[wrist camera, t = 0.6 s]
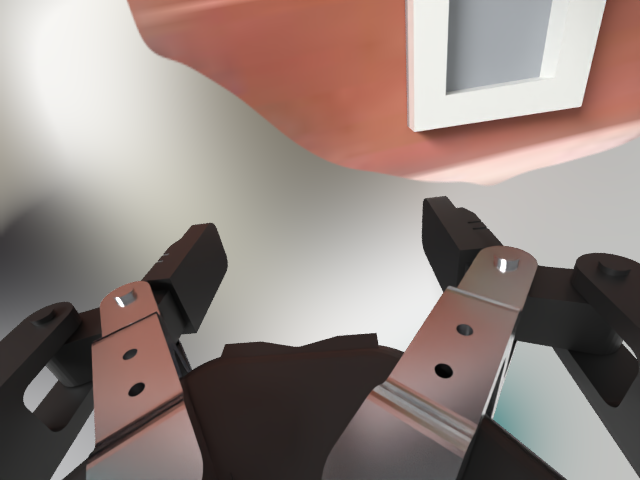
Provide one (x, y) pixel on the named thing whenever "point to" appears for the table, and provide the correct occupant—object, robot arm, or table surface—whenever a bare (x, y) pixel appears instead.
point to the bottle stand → (496, 58)
